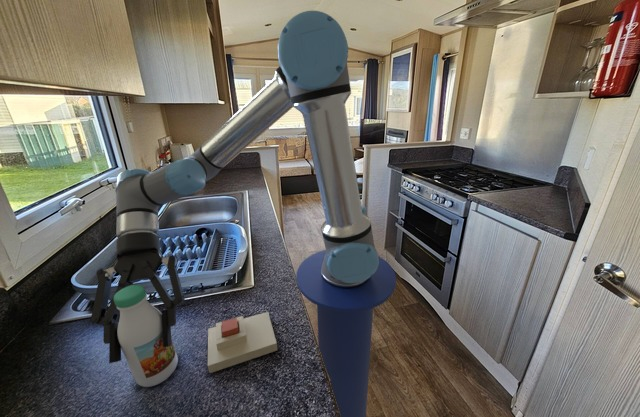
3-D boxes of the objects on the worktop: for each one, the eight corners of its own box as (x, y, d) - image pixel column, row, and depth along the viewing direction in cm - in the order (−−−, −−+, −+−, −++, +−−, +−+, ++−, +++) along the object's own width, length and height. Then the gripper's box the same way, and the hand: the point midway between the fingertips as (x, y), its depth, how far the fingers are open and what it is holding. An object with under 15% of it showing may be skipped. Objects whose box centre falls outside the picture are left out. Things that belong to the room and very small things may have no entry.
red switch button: (237, 323, 60) (236, 317, 60) (238, 333, 58) (237, 327, 57) (222, 327, 59) (221, 321, 59) (223, 338, 56) (222, 332, 56)
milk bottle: (132, 395, 49) (94, 313, 42) (139, 361, 56) (108, 285, 48) (177, 378, 52) (150, 298, 45) (179, 348, 59) (156, 274, 51)
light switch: (268, 318, 66) (267, 305, 65) (277, 350, 57) (276, 336, 56) (209, 335, 62) (206, 322, 60) (209, 373, 53) (205, 359, 51)
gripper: (194, 233, 62) (205, 335, 54) (89, 251, 56) (85, 371, 48) (187, 222, 56) (199, 336, 48) (68, 241, 49) (58, 377, 41)
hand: (142, 353), depth 48 cm, fingers closed on milk bottle, 8 cm apart
